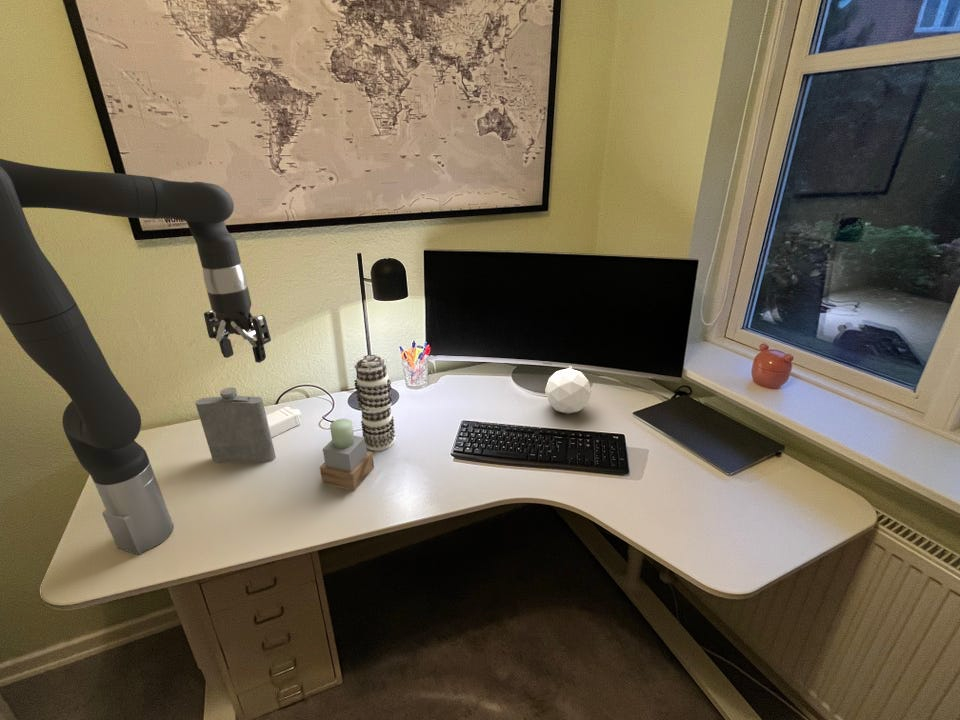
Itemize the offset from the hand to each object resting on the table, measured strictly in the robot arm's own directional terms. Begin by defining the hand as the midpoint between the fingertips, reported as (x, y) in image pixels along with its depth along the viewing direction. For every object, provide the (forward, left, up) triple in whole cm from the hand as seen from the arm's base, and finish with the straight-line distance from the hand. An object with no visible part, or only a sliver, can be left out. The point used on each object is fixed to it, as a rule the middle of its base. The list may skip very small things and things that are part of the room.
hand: (244, 358), depth 105 cm
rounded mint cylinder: (+6, -18, -22) cm, 29 cm away
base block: (+6, -18, -32) cm, 37 cm away
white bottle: (+18, +13, -33) cm, 39 cm away
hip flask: (+4, +12, -32) cm, 35 cm away
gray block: (+6, -18, -27) cm, 33 cm away
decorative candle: (+21, -18, -32) cm, 43 cm away
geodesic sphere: (+53, -64, -32) cm, 89 cm away
